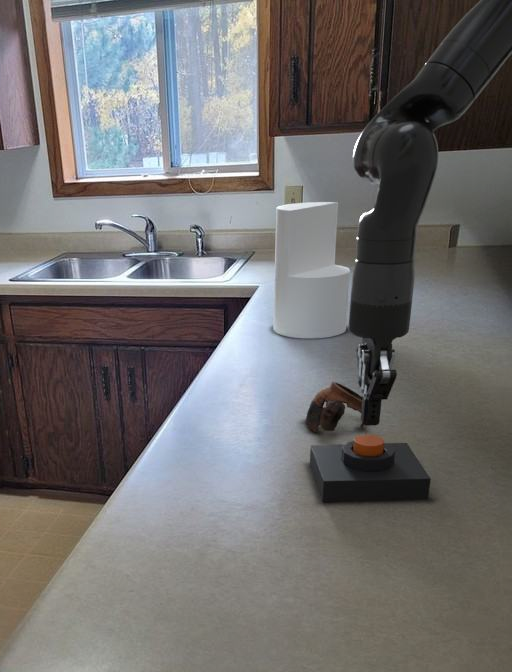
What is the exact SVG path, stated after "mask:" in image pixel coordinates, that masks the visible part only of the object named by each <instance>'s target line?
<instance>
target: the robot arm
mask: <svg viewBox="0 0 512 672" xmlns="http://www.w3.org/2000/svg"><path fill="white" fill-rule="evenodd" d="M511 55H512V0H479V1H478V2H477V3H476V4H475V5H474V6H473V7H472V8H471V9H470V10H469V11H467V12H466V14H465V15H464V16H463V17H462V18H461V19H460V20H459V21H458V22H457V24H456V25H455V26H454V27H453V28H452V29H451V30H450V31H449V32H448V33H447V35H445V37H444V39H443V40H442V41H441V42H440V44H439V45H438V47H437V48H435V50H434V51H433V53H432V54H431V56H430V57H429V58H428V59H427V61H426V62H425V64H424V65H423V66H422V68H421V69H420V71H419V72H418V73H417V75H416V76H415V78H414V79H412V81H411V82H409V84H407V85H406V86H405V87H403V89H401V90H400V92H398V93H397V94H396V95H395V96H394V97H393V98H392V99H391V100H390V101H389V102H388V103H387V104H386V105H384V107H382V109H381V110H379V111H378V112H377V113H376V115H375V116H373V117H372V118H371V120H370V121H369V122H368V123H367V124H366V126H365V127H364V129H363V130H362V131H361V133H360V135H359V137H358V139H357V140H356V143H355V145H354V149H353V154H352V163H353V168H354V172H355V173H356V175H357V176H358V177H359V178H360V179H361V180H362V181H364V182H365V183H368V184H369V185H375V186H378V190H377V194H376V198H375V203H374V207H373V208H371V209H367V210H366V211H365V212H363V213H362V215H361V216H360V218H359V221H358V225H357V235H356V248H355V261H354V268H353V271H352V276H351V286H350V287H351V288H350V300H349V301H350V302H349V315H348V331H349V333H350V334H351V335H353V336H355V337H358V338H362V339H361V343H362V344H358V345H357V346H356V348H355V351H356V360H357V363H356V364H357V376H358V382H357V384H358V387H359V388H360V394H361V395H360V396H362V397H363V399H362V410H361V413H360V420H361V423H363V424H364V427H365V426H367V427H369V426H372V427H374V426H378V425H379V424H380V421H381V410H382V401H383V400H388V399H389V396H390V394H391V391H392V389H393V386H394V385H395V384H394V383H395V382H396V379H397V376H398V373H397V369H392V367H393V365H394V364H395V359H396V350H395V349H393V341H395V340H396V339H397V338H402V337H404V336H406V335H407V334H408V333H409V331H410V326H411V325H410V324H411V315H412V308H413V307H412V306H413V297H414V289H415V278H416V276H415V274H416V272H415V257H416V250H417V242H418V241H417V239H418V232H419V231H418V229H419V223H420V221H421V217H422V215H423V213H424V210H425V207H426V205H427V203H428V200H429V196H430V193H431V191H432V188H433V184H434V181H435V179H436V174H437V169H438V165H439V145H438V140H437V137H436V135H435V133H434V132H435V131H436V130H438V129H439V128H440V127H442V126H446V125H448V124H452V123H454V122H456V121H457V120H459V119H460V118H461V117H462V116H463V115H464V114H465V113H466V112H467V110H468V109H469V108H470V107H471V105H472V104H473V103H474V102H475V100H476V99H477V98H478V96H480V95H481V93H482V91H483V90H484V89H485V88H486V87H487V85H488V84H489V83H490V81H492V79H493V78H494V77H495V75H496V74H497V72H498V71H499V70H500V68H501V67H502V66H503V65H504V64H505V62H506V61H507V60H508V58H509V57H510V56H511Z"/></svg>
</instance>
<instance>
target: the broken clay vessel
mask: <svg viewBox="0 0 512 672" xmlns="http://www.w3.org/2000/svg"><path fill="white" fill-rule="evenodd" d="M362 399H363V396H362V395H360V394H359V393H357V392H356V391H354V390H352V389H351V388H349V387H348V386H345V385H343V384H342V383H338V382H335V381H332V382H331V384H330V385H329V387H326V388H324V389H321V390H320V391H318V392H317V393H316V394H315V395H314V397H313V399H312V400H311V402H310V404H309V408H308V410H307V412H306V416H305V420H304V424H305V425H306V427H307V428H309V429H310V430H311V431H312V432H314V433H318V431H319V427H320V428H321V429H322V430H323V431H326V432H334V431H335V430H336V428H337V425H338V423H339V421H340V420H341V419H342V417H343V416H344V414H345V411H346V408H349V409H352V410H353V411H356V412H359V413H360V414H361V410H362ZM345 404H346V405H345ZM364 427H365V425H364V424H363V423H362V422H361V423H360V429H363V428H364Z"/></svg>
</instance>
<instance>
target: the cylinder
mask: <svg viewBox="0 0 512 672" xmlns="http://www.w3.org/2000/svg"><path fill="white" fill-rule="evenodd" d="M338 214H339V201H338V202H337V201H312V202H311V201H310V202H295V203H288V204H282V205H279V206H276V208H275V244H274V245H275V247H274V250H275V251H274V286H273V288H274V294H273V297H274V298H273V331H274V332H275V333H276V334H278V335H281V336H283V337H288V338H295V339H296V338H297V339H325V338H330V337H335V336H340V335H341V334H344V333H345V332H346V331H347V324H348V323H347V321H348V306H349V292H350V279H351V278H350V276H351V269H350V268H349V267H347V266H344V265H338V264H336V248H337V231H338V216H339V215H338Z"/></svg>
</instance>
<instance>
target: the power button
mask: <svg viewBox="0 0 512 672" xmlns="http://www.w3.org/2000/svg"><path fill="white" fill-rule="evenodd" d="M353 441H354V448H353V452H355V453H357V454H359V455H364V456H378V455H381V454H383V449H384V443H385V440H384V438H382V437H381V436H378V435H374V434H360V435H358V436H356V437H354V439H353Z"/></svg>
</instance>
